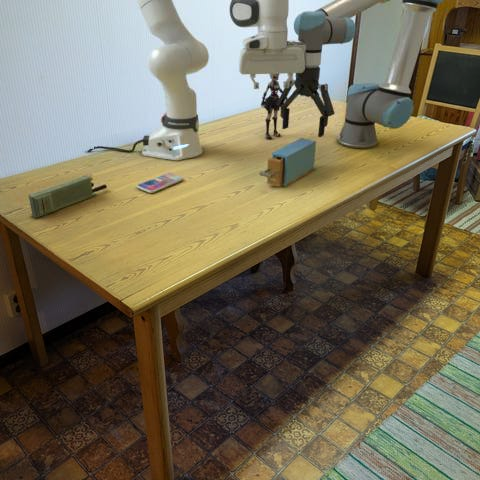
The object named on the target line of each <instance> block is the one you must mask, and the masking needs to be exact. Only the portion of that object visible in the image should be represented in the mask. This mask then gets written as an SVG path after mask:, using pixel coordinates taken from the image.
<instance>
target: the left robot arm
mask: <svg viewBox="0 0 480 480" xmlns="http://www.w3.org/2000/svg"><path fill="white" fill-rule="evenodd" d="M136 1H137V4H138V7H139V9H140V11H141V14H142V16H143V19H144V21H145V23H146V25H147V29H148V30H149V32H150V34H152V35H153V36H155V37H156V38H158V39H159V40H160V41H161V42H162V43H163V44H162V45H160V46H158V47H156V48H154V49H153V50H151V51H150V52H149V53H148V57H147V67H148V70H149V72H150V73H151V75H152V76H153V77H154V78H156V79H157V81H158V82H159V83H160V85H161V87H162V90H163V94H164V102H165V113H163V114H162V116H161V118H160V123H161V125H159V127H157V128H156V129H155V130H154V131H152V132H151V133H150V135H144V136H143V138H142V139H139V140H137V141H136V142H135V143H134V144H133V146H132V149H124V148H118V147H111V146H102V145H97V147H96V146H93V147H94V149H91V148H89V149H88V150H87V153H91V152H92V151H93V150H97V149H103V150H112V151H118V152H123V153H132V152H134V151H135V150H136V146H137V145H139V144H141V143H142V146H144V147H143V148H142V150H141V155H142V156H145V157H152V158H157V159H164V160H170V161H176V162H178V161H182V160H185V159H190V158H191V159H192V158H196V157H198V156H200V155H202V153H203V149H202V148H203V147H202V145H201V142H200V134H199V128H200V121H199V114H198V103H197V93H196V91H195V90H194V89H193V88H191V87H190V86H189V83H188V79H187V76H188V75H192V74H195V73H198V72H200V71H201V70H203V69H204V68H206V66H207V65H208V63H209V59H210V56H209V50H208V47H207V46H206V45H205V44H204V43H203V42H201V41H200V40H198V39H196V37H195V36H194V35H193V34H192V33H191V32H190V31H189V29H188V28H187V26H185V24H184V23H183V21H182V19H181V17H180V15H179V13H178V11H177V8H176V6H175V4H174V1H173V0H136ZM289 1H290V0H231V1H230V2H229V3H230V4H229V16H230V19H231V20H232V23H233V24H234V25H235V26H236V27H239V28H244V29H248V28H255V27H257V34H254V35H252V36H249V37H246V38H244V39H243V40H242V46H243V48H242V49H241V50H240V52H239V57H238V71H239V73H240V74H241V75H249V78H250V79H251V81H252V83H253V90H259V89H260V87H259V86H260V83H259V81H256V80H255V78H256V75H269V74H279V75H281V74H282V75H283V74H287V79H285V80H286V81H283V89H284V88H289V83H290V81H291V79H292V78H293V79H294V74H296V73H303V71H304V70H305V57H304V55H305V53H306V52H305V51H306V45H305V43H303V42H302V41H298V40H288V35H289V34H288V33H289V31H288V30H289V28H288V17H289V3H290V2H289ZM303 44H304V45H303Z"/></svg>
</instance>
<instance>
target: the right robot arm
mask: <svg viewBox="0 0 480 480" xmlns="http://www.w3.org/2000/svg"><path fill="white" fill-rule="evenodd" d="M389 1H390V0H333V1H330V2H329V3H327V4H325V5H323V6H321V7H319V8H318V9H316V10H314V11H313V10H308V11H306V10H305V11H302V12H301V13H299V14H298V15H297V16H296V17H295V18H294V21H293V30H294V33H295V34H296V35H297V41H302V42H303V43H305V45H306V51H305V52H306V53H305V55H304V57H305V70H304V71H303V73H295V79H294V77H293V78H292V79H291V81H290V83H289V88H284V87H283V89H282V90H283V92H282V93H280V95H279V100H278V102H277V104H276V105H277V106H279V107H281V108H280V115H281V116H280V118H281V119H282V128H281V129H282V130H286V129H288V128H289V124H290V123H289V122H290V108H289V106H290V105H291V104H292V103H293V102H294V101H295V100H296V99H297V98H298V96H300V97H304V96H305V97H306V98H309V97H310V99H311V100H312V101H313V103H314V104H315V106H316V107H317V109H318V112H319V113H320V114H321V115H320V116H319V122H318V133H317V137H318V138H321V137H323V136H325V129H326V127H327V126H328V123H329V117H331V116H333V115H335V110H334V109H335V108H334V105H333V103H332V101H331V97H330V94H329V84H327V83H324V84H323V83H322V84H320V83H319V80H320V74H321V67H320V65H321V64H322V63H321V62H322V54H323V53H322V52H323V46H326V45H337V44H340V45H343V44H346V43H351V42H352V40H353V39H354V37H355V35H356V29H357V28H356V23H355V21H354V19H352V18H353V17H355V16H357V15H358V14H359V15H360V13H362V12H364V11H366V10H368V9H370V8H372V7H374V6H376V5H377V4H386V3H387V2H389ZM444 1H445V0H402V1H401V5H402V8H403V9H404V11H403V15H402V18H401V22H400V26H399V29H398V32H397V36H396V38H395V39H396V40H395V43H394V46H393V51H392V54H391V58H390V61H389V64H388V67H387V71H386V75H385V78H384V82H382V83H380V84H379V83H374V82H373V83H371V82H367V83H366V82H363V83H354V84H351V85H350V86H349V88H348V92H347V97H346V107H345V116H344V124H343V126H342V128H341V130H340V132H339V133H338V135H337V142H338V144H340V145H341V146H343V147H347V148H351V149H357V150H358V149H360V150H361V149H362V150H363V149H371V148H374V147H376V146H377V143H378V136H377V131H376V124H377V125H380V126H382V127H384V128H389V129H393V130H395V129H399V128H401V127H403V126H404V125H405V124H406V123H407V122H408V121H410V118H411V117H412V115H413V113H414V112H413V111H414V108H415V107H414V101H413V100H412V99H411V98H410V97H411V94H412V91H411V89H410V83H411V80H412V76H413V73H414V70H415V66H416V63H417V59H418V56H419V53H420V49H421V46H422V42H423V40H424V36H425V33H426V29H427V26H428V23H429V19H430V16H431V14H433V13H434V12H436V11H437V9H438V5H439V4H441V3H442V2H444ZM303 45H304V44H303ZM293 87H294V88H295V89H294V91H292V94H291V95H290V96H289V93H290V92H291V90H292V89H293ZM319 91H320V93H319ZM320 95H321V96H320ZM288 96H289V97H288ZM286 98H288V99H287V100H285V99H286Z"/></svg>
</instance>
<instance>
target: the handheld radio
mask: <svg viewBox="0 0 480 480" xmlns="http://www.w3.org/2000/svg"><path fill="white" fill-rule="evenodd" d="M92 176H93V174H91V173H88V174H85V175H83V176H79V177H76V178H74V179H71V180H68V181H65V182H62V183H59V184H57V185H54V186H50V187H47V188H44V189H42V190H39V191H37V192H33V193H30V194H28V200H29V206H30V210H31V216H32V217H34V218H35V219H36V218H39V217H42V216H45V215H47V214H50V213H53V212H56V211H58V210H60V209H63V208H66V207H68V206H72V205H73V204H76V203H80V202H82V201H84V200H87V199H90V198H93V196H95V195H96V194H95V193H97V192H100V191H102V190H106V189H107V188H108V186H107V184H102V185H99V186H96V187H94V186H95V183H94V182H92V181H93V180H94V178H93V177H92ZM93 187H94V188H93Z"/></svg>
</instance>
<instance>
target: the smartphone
mask: <svg viewBox="0 0 480 480" xmlns="http://www.w3.org/2000/svg"><path fill="white" fill-rule="evenodd" d="M182 181H184V177H183V176H180V175H179V174H174V173H172V172H166V173H163V174H161V175H159V176H156V177H154V178H151V179H149V180H146V181H143V182H141V183H138V184H137V185H136V188H137V189H139V190H141V191H143V192H145V193H148V194H154V193H156V192H158V191H160V190H161V191H162V190H164V189H166V188H168V187H170V186H172V185H175V184H177V183H180V182H182Z"/></svg>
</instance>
